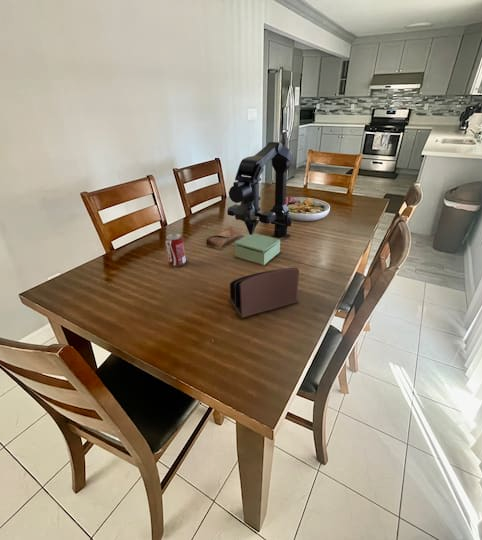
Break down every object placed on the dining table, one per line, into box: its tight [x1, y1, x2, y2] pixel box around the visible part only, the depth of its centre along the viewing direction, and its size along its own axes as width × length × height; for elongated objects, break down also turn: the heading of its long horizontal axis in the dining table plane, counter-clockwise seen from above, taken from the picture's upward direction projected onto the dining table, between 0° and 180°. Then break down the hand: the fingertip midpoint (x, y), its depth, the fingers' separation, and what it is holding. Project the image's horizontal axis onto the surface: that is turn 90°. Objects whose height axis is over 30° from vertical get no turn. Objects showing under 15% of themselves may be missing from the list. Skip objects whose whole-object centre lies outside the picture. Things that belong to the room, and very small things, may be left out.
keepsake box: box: [234, 241, 281, 266], centre depth 124 cm, size 13×14×6 cm
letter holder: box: [229, 267, 300, 319], centre depth 93 cm, size 10×20×14 cm, turn 114°
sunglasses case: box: [205, 226, 243, 249], centre depth 138 cm, size 18×7×7 cm
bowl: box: [286, 195, 331, 222], centre depth 167 cm, size 30×30×8 cm
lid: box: [233, 232, 281, 252], centre depth 122 cm, size 14×14×1 cm
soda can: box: [165, 233, 187, 267], centre depth 117 cm, size 7×7×12 cm
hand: (251, 234), depth 116 cm, fingers closed
